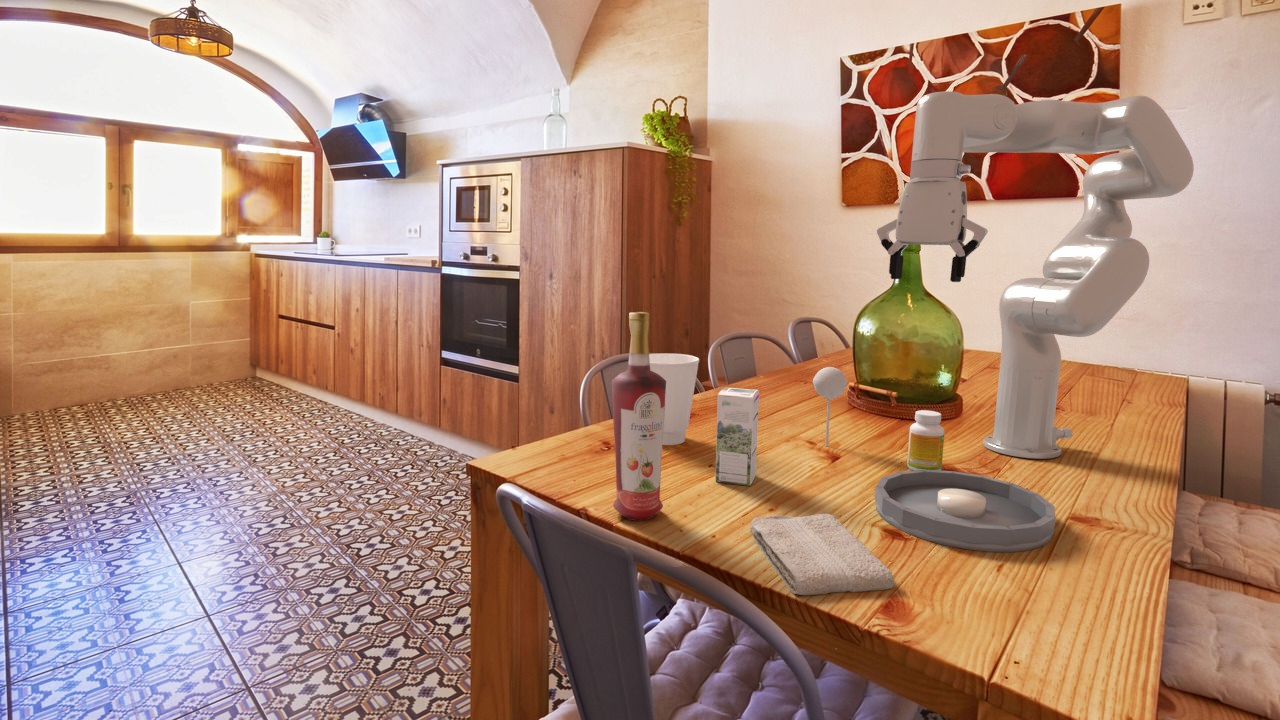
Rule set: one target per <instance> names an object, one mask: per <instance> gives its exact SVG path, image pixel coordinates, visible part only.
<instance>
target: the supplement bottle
mask: <svg viewBox="0 0 1280 720" xmlns="http://www.w3.org/2000/svg"><path fill="white" fill-rule="evenodd" d="M914 420H915V421H916V422H914V423H912V424H911V425H910V427H909V433H908V435H909V436H908V448H907V461H906V463H907V464H906V465H907V468H908V469H909V470H910V471H914V470H939V471H942V468H943V466H942V465H943V454H944V445H945V444H944V442H945V428H944V427H943V426H942V425H940V423H941V422H942V413H940V412H938V411H934V410H927V409H924V410H923V409H921V410H917V411H915V415H914Z"/></svg>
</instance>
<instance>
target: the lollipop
mask: <svg viewBox="0 0 1280 720" xmlns="http://www.w3.org/2000/svg"><path fill="white" fill-rule="evenodd" d="M812 379H813V380H812V384H813V387H814V390H815V391H816V393H817V394H818V395H819V397H822V398H824V399H827V408H826V412H827V413H826V427H825V429H826V430H825V442H824V444H825V445H824V446H825V447H828V445H829V428H830V414H831V411H830V410H831V400H833V399H836V398H838V397H840V396H842V395H843V394H844V392H845V391H846V388H847V386H848V380H847V378H846V375H845V374H844V372H843V371H841V370H840V369H838V368H837V367H832V366H827V367H824V368H822V369H820V370H818V371H817V372H816V373H815V375H814V377H813V378H812Z"/></svg>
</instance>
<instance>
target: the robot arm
mask: <svg viewBox="0 0 1280 720" xmlns="http://www.w3.org/2000/svg"><path fill="white" fill-rule="evenodd" d="M913 131H914V132H913V141H912V154H911V164H910V173H909V175H910V176H909V182H906V183H905V184H904V188H903V191H902V194H901V197H900V198H901V200H900V203H899V207H898V213H897V218H896V219H895V220H892V221H891V222H888V223H886V224H884V225H883V226H881V227H878V228H877V230H876V233H877V236H878V238H879V240H880V244H881V245H882V247H883V249H885V250H886V252H887V253H888V255H889V267H888V274H889V275H890V279H891V280H900V279H902V277H903V270H904V269H903V268H904V267H903V266H904V255H902V253H903V251H905V249H906V248H907V247H908V246H909V245H918V246H919V245H921V246H925V245H926V246H949V247H950V248H951V249H952V250H953V252H954V253H955V256H953V257H952V258H951V259H952V260H951V268H950V269H951V271H950V279H949V280H950V282H952V283H961V281H962V278H964V277H965V274H966V265H967V264H966V263H967V257H969V256H970V255H971V254H972V253H973V252H974V251H976V249H978V248H979V246H980V245H981V243H982V242H983V240H984V239H985V237H986V235H988V229H987V228H986V227H984V226H982V225H980V224H978V223H976V222H974V221H972V220H970V219H968V195H967V186H966V182H965V181H961V179H962V177H963V176H964V175H966V174H970V173H971V169H972V168H971V165H970V164H965V163H964V162H963V153H973V154H974V153H1011V154H1012V153H1014V154H1017V153H1021V154H1025V153H1048V154H1051V153H1052V154H1069V155H1096V154H1102V153H1110V152H1116V153H1111V154H1106V155H1103V156H1102V157H1098V158H1097V159H1095V160H1094V161H1092V163H1091V164H1089V166H1088V167H1087V169H1086V171H1085V173H1084V175H1083V180H1082V190H1083V213H1082V216H1081V218H1080V220H1079V221H1078V222H1077V223H1076V224H1075V226H1074V227H1072V229H1071V230H1069V232H1068V233H1067V234H1065V236H1064V237H1063V238H1062V239H1061V241H1059V243H1058V244H1057V245H1056V246H1055V247H1054V248H1053V249H1052V250H1051V252H1050V253H1049V254H1048V255H1047V257H1046V258H1045V260H1044V263H1043V265H1042V274H1043V277H1026V278H1022V279H1021V278H1020V279H1018V280H1015V281H1013V282H1011V283H1010V284H1009V285H1007V287H1006V288H1005V289H1004V290H1003V292H1002V293H1001V295H1000V298H999V307H998V308H999V309H998V313H999V319H1000V326H1001V351H1000V362H999V375H998V382H997V383H998V384H997V393H996V394H997V395H996V402H995V403H996V405H995V413H994V415H995V416H994V424H993V434H990V435H987V436H985V437H984V438H983V440H982V441H983V442H982V443H983V446H984V447H985V448H987V449H988V450H989V451H993V452H995V453H999V454H1002V455H1007V456H1010V457H1011V456H1012V457H1016V458H1024V459H1034V460H1035V459H1036V460H1037V459H1038V460H1040V459H1041V460H1044V459H1045V460H1046V459H1054V458H1058V457H1060V456H1061V454H1062V447H1061V446H1060V445H1059V444H1057V441H1058V440H1059V439H1060V440H1061V439H1070V438H1072V437H1073V430H1072V429H1071V428H1070V427H1059V428H1058V427H1057V426H1055V419H1056V410H1057V409H1056V408H1057V399H1058V390H1059V384H1060V381H1059V380H1060V376H1061V375H1060V372H1061V367H1062V366H1061V365H1062V353H1061V349H1060V345H1059V343H1058V340H1057V338H1056V336H1055V335H1058V336H1065V337H1072V338H1085V337H1090V336H1093V335H1095V334H1097V333H1098V332H1100V330H1102V329H1103V328H1105V326H1106V325H1108V323H1109V322H1110V321H1111V320H1112V319H1113V318H1114V317H1115V316H1116V314H1117V313H1118V312H1119V311H1120V310H1121V309H1122V308H1123V307H1124V306H1125V305H1126V304H1127V302H1128V301H1129V300H1130V299H1131V298H1132V297H1133V296H1134V295H1135V294H1136V292H1137V291H1138V290H1139V288H1140V287H1141V286H1142V284H1143V283H1144V281H1145V280H1146V277H1147V276H1148V271H1149V267H1150V255H1149V252H1148V250H1147V248H1146V245H1144V244H1143V243H1142V242H1141V241H1139V240H1137V239H1135V238H1133V237H1131V235H1132V231H1133V224H1132V221H1131V218H1130V216H1129V214H1128V213H1127V210H1126V206H1125V202H1124V201H1126V200H1127V201H1128V200H1141V199H1156V198H1167V197H1171V196H1174V195H1178V194H1179V193H1182V191H1184V190H1185V189H1186V188H1187V187H1188V186H1189V185H1190V182H1191V181H1192V180H1193V179H1192V178H1193V176H1194V160H1193V157H1192V154H1191V152H1190V150H1189V148H1188V147H1187V145H1186V143H1185V141H1184V140H1183V138H1182V136H1181V135H1180V133H1179V132H1178V129H1177V128H1176V127H1175V124H1174V123H1173V122H1172V120H1171V119H1170V116H1169V115H1168V114H1167V113H1166V111H1165V110H1164V109H1163V107H1162V106H1161V105H1160V104H1158V102H1156V101H1155V100H1154V99H1152V98H1151V97H1149V96H1146V95H1134V96H1133V95H1132V96H1127V97H1123V98H1119V99H1114V100H1110V101H1104V102H1085V101H1084V102H1082V101H1081V102H1080V101H1072V100H1061V99H1060V100H1059V99H1058V100H1057V99H1042V100H1034V101H1027V102H1021V103H1018V104H1016V103H1015V102H1014V100H1012V99H1011V98H1010V97H1008V96H1006V95H1002V94H999V93H989V94H988V93H987V94H963V93H961V92H958V91H949V90H948V91H947V90H946V91H936V92H931V93H928V94H925V95H923V96H922V97H920V98H919V99H918V101H917V103H916V110H915V120H914V129H913ZM1125 150H1130V151H1125ZM1118 151H1123V152H1118ZM967 230H968V231H971V232H972V233H973V236H972V238H971V240H969V241H968V242H967V243H966V244H964V242H965V239H966V236H967ZM892 231H895V239H896V241H895V242H893V241H892V240H891V239H890V235H889V234H890V233H891V232H892Z"/></svg>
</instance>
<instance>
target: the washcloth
mask: <svg viewBox="0 0 1280 720" xmlns="http://www.w3.org/2000/svg"><path fill="white" fill-rule="evenodd" d="M749 527H750V528H749V529H750V532H751V534H752V538H753V539H754V541H755V544H756V545H757V547H758V549H759V550H760V551H761V553H762V554H763V555H764V557H765V558H766V560H767V561H768V562H769V564H770V565H771V566H772V568H773V569H774V570H775V572H776V573H777V575H778V576H779V577H780V578H781V580H782V581H783V583H784V584H785V586H786V587H787V588H788V590H789V592H791V593H793V594H794V595H798V596H799V595H800V596H804V597H805V596H816V595H817V596H818V595H827V594H829V593H845V592H851V593H857V592H859V593H861V592H869V591H873V592H875V591H883V590H889V589H893V587H896V581H895V577H894V575H893V571H891V570H890V569H889V568H888V567H886V565H885V564H884V563H883V562H882V561H881V560H880V559H879V558H877V557H876V555H874V554H873V553H872V551H870V550H869V549H868V548H867V546H865V545H864V543H863V542H862V541H860V540H859V539H858V538H857V536H855V535H854V534H853V533H852V532H851V531H850V530H848V529H847V528H846V527H845V526H844V525H843V524H842V523H841V522H840V521H839V519H837V518H836V516H834V515H832V514H829V513H816V514H813V515H812V514H811V515H806V516H805V515H804V516H789V515H779V514H778V515H777V514H776V515H772V516H771V515H770V516H762V517H761V516H758V517H754V518H753V519H752V521H751V525H750V526H749Z"/></svg>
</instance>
